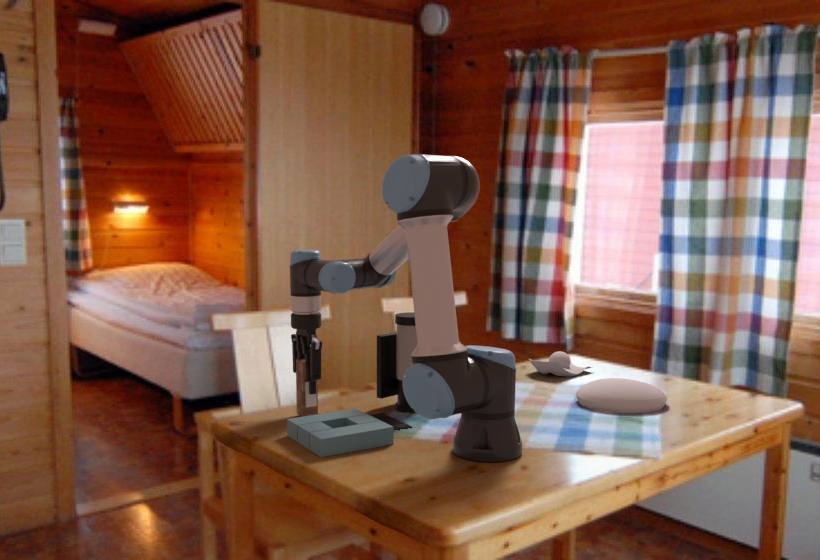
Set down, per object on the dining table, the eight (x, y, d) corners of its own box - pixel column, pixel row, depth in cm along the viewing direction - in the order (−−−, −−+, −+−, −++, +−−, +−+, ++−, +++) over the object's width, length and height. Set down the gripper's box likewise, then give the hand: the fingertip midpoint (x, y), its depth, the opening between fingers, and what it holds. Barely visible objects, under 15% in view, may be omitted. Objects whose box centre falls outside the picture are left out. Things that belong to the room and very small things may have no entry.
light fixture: (405, 416, 212) (406, 319, 209) (376, 407, 220) (376, 314, 217) (438, 407, 221) (439, 314, 218) (408, 399, 228) (409, 309, 226)
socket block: (393, 444, 189) (393, 426, 189) (321, 457, 180) (320, 439, 179) (355, 424, 204) (355, 408, 204) (287, 435, 195) (286, 419, 195)
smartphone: (356, 419, 211) (387, 434, 198) (356, 415, 211) (387, 430, 198) (382, 415, 215) (414, 429, 202) (382, 411, 215) (414, 425, 202)
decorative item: (583, 392, 239) (569, 409, 220) (584, 368, 238) (570, 384, 219) (669, 400, 230) (662, 419, 212) (670, 376, 229) (663, 392, 211)
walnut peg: (317, 415, 211) (317, 360, 209) (303, 417, 209) (302, 362, 207) (311, 411, 214) (310, 357, 213) (296, 413, 212) (295, 359, 211)
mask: (598, 373, 261) (562, 369, 273) (597, 349, 261) (561, 346, 273) (554, 381, 249) (518, 377, 261) (553, 356, 249) (517, 353, 261)
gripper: (335, 315, 204) (335, 409, 206) (305, 306, 218) (306, 395, 220) (306, 317, 200) (307, 414, 202) (278, 309, 214) (279, 399, 217)
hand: (307, 404), depth 211 cm, fingers closed on walnut peg, 4 cm apart
